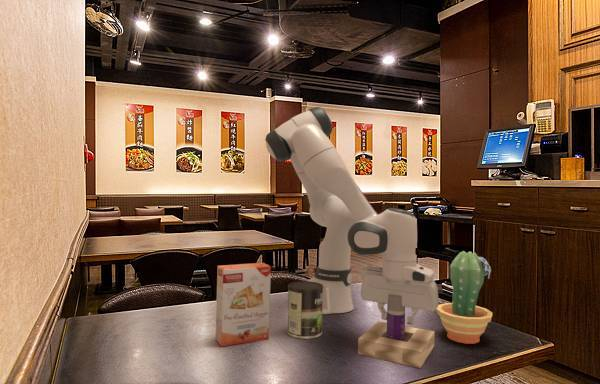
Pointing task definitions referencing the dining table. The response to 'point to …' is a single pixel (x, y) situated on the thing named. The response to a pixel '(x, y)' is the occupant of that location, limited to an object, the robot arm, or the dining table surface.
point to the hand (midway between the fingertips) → (397, 321)
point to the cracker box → (242, 303)
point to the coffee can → (305, 309)
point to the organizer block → (397, 345)
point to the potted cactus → (466, 299)
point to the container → (395, 318)
